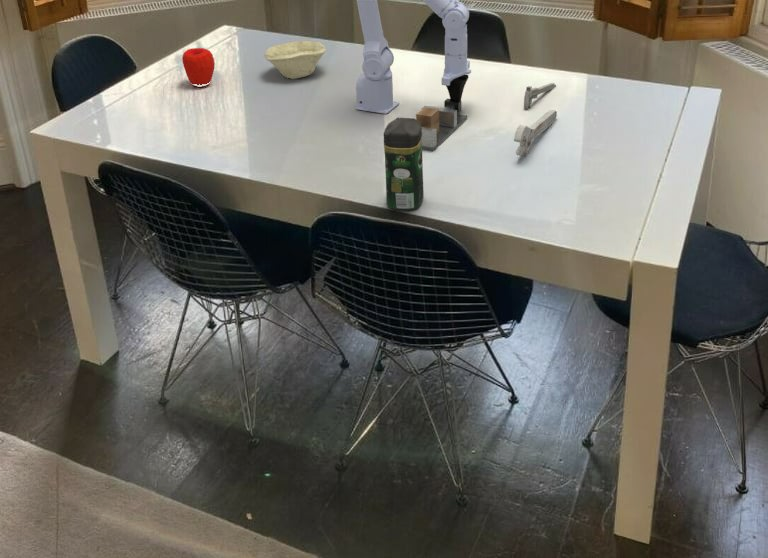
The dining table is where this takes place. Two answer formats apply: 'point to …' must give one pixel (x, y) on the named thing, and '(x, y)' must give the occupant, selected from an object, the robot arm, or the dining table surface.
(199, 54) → the apple
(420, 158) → the coffee jar
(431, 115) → the block
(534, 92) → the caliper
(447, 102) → the slide jaw
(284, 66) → the bowl
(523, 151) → the wrench
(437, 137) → the vise
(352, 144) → the dining table surface
